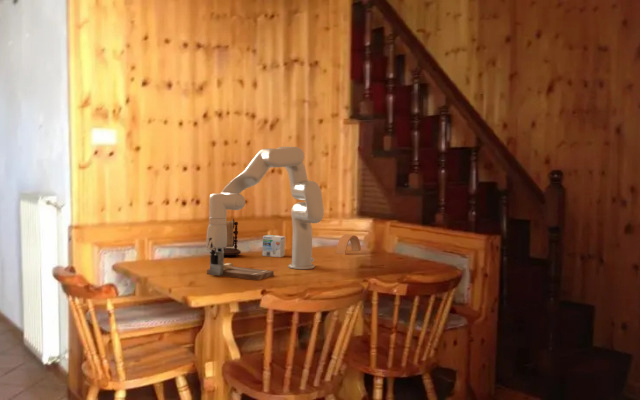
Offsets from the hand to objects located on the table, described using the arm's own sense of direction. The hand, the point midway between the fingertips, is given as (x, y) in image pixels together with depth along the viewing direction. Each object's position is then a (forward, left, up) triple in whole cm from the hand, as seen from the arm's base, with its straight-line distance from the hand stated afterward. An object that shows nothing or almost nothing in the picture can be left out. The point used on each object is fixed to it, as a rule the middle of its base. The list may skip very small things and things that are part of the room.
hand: (216, 263), depth 292 cm
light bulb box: (-68, -10, -6) cm, 69 cm away
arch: (-106, +17, -6) cm, 107 cm away
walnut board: (-9, +7, -6) cm, 12 cm away
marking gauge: (-5, 0, -5) cm, 7 cm away
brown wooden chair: (-53, -30, -6) cm, 61 cm away
